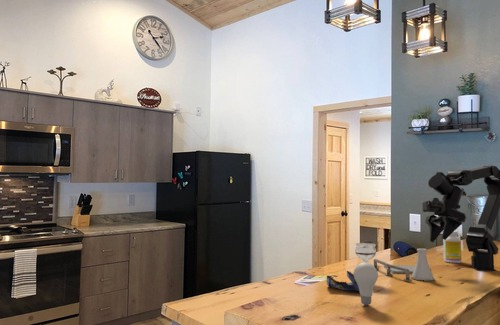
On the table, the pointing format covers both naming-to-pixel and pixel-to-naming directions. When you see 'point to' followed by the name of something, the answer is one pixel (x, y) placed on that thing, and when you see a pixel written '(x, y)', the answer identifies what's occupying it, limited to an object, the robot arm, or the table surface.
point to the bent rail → (392, 267)
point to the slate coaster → (410, 268)
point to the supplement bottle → (452, 248)
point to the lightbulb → (365, 281)
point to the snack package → (343, 283)
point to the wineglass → (365, 251)
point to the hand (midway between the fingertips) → (437, 240)
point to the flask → (422, 267)
